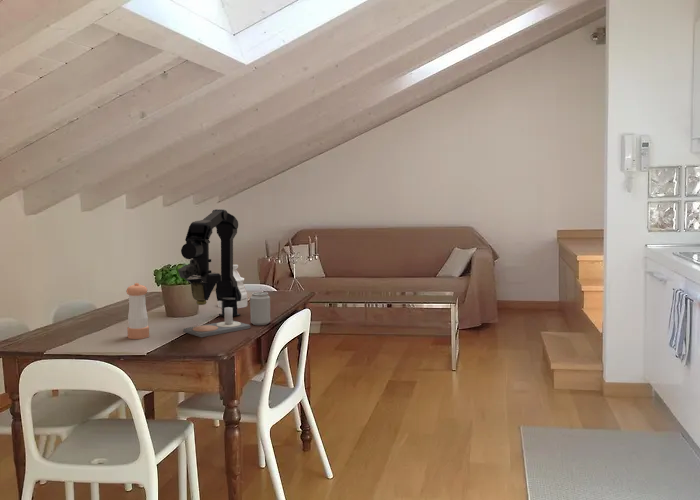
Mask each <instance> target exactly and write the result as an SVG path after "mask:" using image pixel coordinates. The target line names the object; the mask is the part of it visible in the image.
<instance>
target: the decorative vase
mask: <svg viewBox="0 0 700 500" xmlns="http://www.w3.org/2000/svg"><path fill="white" fill-rule="evenodd" d="M190 289H191V294H192V295H191V296H192V298H193V299H194V300H195V301H196V303H195V304H196V305H199V306H204V305H207V300H205V298H204V290H203V286H202V284H201V283H199V284H198V283H194V282H193V283H191V284H190Z"/></svg>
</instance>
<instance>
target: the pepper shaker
mask: <svg viewBox="0 0 700 500" xmlns="http://www.w3.org/2000/svg"><path fill="white" fill-rule="evenodd" d="M147 293H148V288H147V286H145V285H143V284H140V283H139V282H134V284H131V285H129V286H128V287H127V289H126V294H127V295H128V305H129V307H128V315H127V322H128V327H127V329H126V330H127V338H128V339H131V340H142V339H147V338H149V337H150V326H149V324H148V321H149V318H148V317H149V316H148V312H147V311H148V310H147V306H146V304H147V303H146V294H147Z"/></svg>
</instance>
